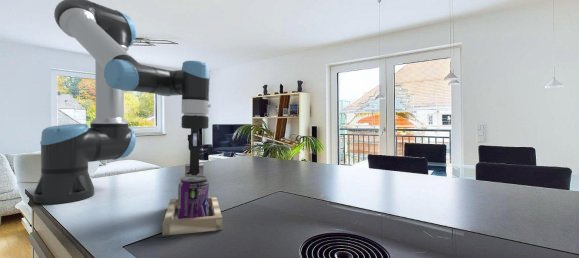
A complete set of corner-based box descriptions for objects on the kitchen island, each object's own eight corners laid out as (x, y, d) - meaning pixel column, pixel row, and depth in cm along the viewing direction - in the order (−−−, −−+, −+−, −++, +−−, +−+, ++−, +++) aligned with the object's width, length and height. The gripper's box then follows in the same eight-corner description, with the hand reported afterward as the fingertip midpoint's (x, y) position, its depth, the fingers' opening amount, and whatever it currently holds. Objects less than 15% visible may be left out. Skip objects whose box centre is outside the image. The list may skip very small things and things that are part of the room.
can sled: (170, 206, 81) (171, 164, 81) (216, 203, 85) (216, 163, 85) (162, 235, 61) (163, 179, 61) (222, 229, 65) (223, 177, 65)
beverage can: (199, 232, 64) (200, 181, 64) (171, 229, 65) (172, 179, 65) (213, 222, 71) (213, 175, 70) (187, 219, 72) (188, 174, 72)
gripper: (209, 115, 74) (208, 201, 75) (207, 115, 90) (206, 187, 90) (180, 114, 72) (178, 203, 73) (182, 115, 87) (181, 188, 88)
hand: (193, 194), depth 82 cm, fingers closed on can sled, 3 cm apart
